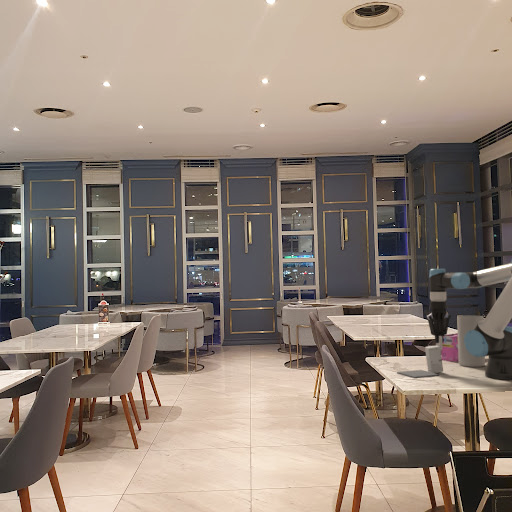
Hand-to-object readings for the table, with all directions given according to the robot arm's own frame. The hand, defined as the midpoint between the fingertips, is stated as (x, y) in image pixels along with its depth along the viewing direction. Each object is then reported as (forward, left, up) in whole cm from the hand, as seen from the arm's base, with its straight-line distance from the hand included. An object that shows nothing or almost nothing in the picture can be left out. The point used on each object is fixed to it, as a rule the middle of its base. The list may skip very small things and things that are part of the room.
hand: (439, 349), depth 249 cm
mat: (0, +13, -11) cm, 17 cm away
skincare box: (0, +3, -10) cm, 11 cm away
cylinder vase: (+9, -27, -11) cm, 31 cm away
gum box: (+28, -37, -11) cm, 48 cm away
